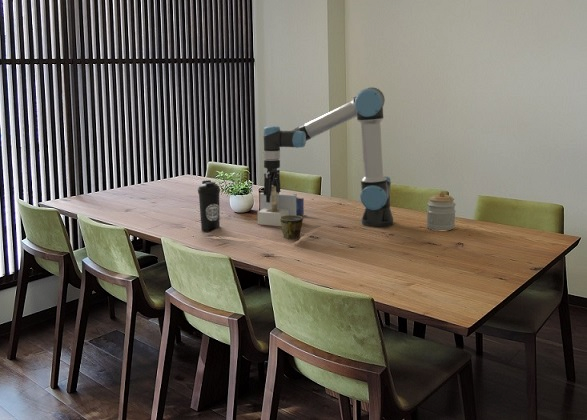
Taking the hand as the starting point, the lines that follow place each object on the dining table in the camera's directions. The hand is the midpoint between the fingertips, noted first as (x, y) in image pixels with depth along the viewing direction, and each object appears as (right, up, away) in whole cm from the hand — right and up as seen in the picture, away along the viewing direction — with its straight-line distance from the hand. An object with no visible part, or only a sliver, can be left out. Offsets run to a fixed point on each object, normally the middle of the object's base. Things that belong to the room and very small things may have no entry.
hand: (272, 207), depth 333 cm
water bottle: (-29, -11, -3) cm, 31 cm away
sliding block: (0, -7, +3) cm, 8 cm away
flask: (+11, -4, +25) cm, 27 cm away
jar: (+78, -10, -6) cm, 79 cm away
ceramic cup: (+9, -15, -23) cm, 29 cm away
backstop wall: (-1, -10, -1) cm, 10 cm away
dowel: (0, -6, +3) cm, 6 cm away
